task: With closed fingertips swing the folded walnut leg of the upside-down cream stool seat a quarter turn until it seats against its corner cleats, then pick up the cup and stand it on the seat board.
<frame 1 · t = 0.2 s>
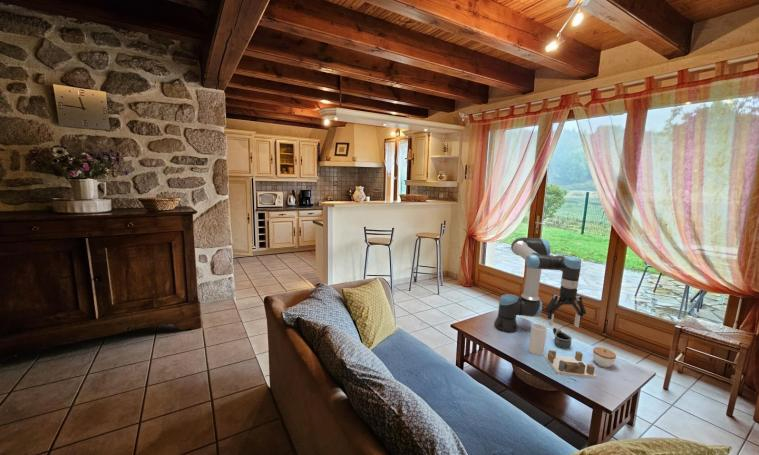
hand: (563, 325, 168), 27 cm above the table, fingers open, 13 cm apart
cup: (535, 351, 195), on the table
seat board: (569, 367, 179), on the table
mug: (559, 345, 203), on the table
folding leg: (574, 366, 172), point 4 cm above the table, hinge at 0.0°
lidded jar: (602, 364, 184), on the table
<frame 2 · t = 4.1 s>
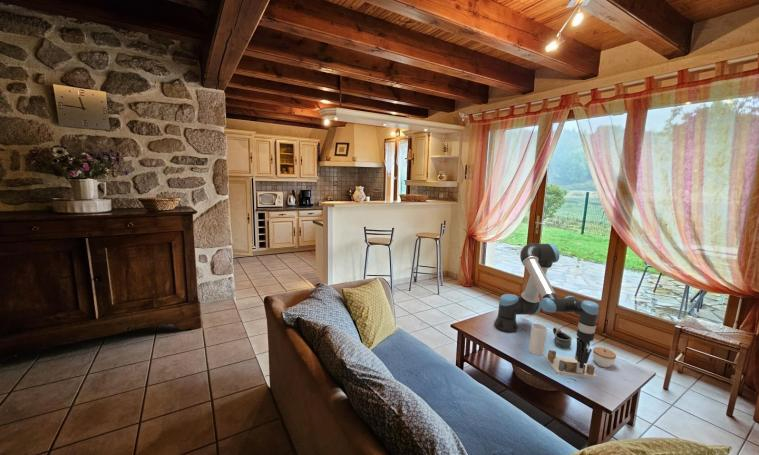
hand: (579, 372, 170), 3 cm above the table, fingers closed
folding leg: (574, 366, 172), point 4 cm above the table, hinge at 0.0°, touching gripper
everything else where it was.
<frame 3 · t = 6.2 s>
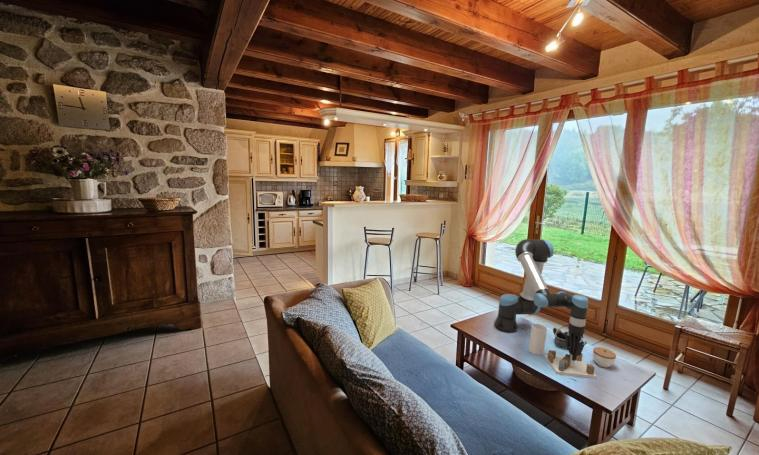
hand: (571, 364, 177), 3 cm above the table, fingers closed
folding leg: (566, 361, 177), point 4 cm above the table, hinge at 48.8°, touching gripper
everything else where it was.
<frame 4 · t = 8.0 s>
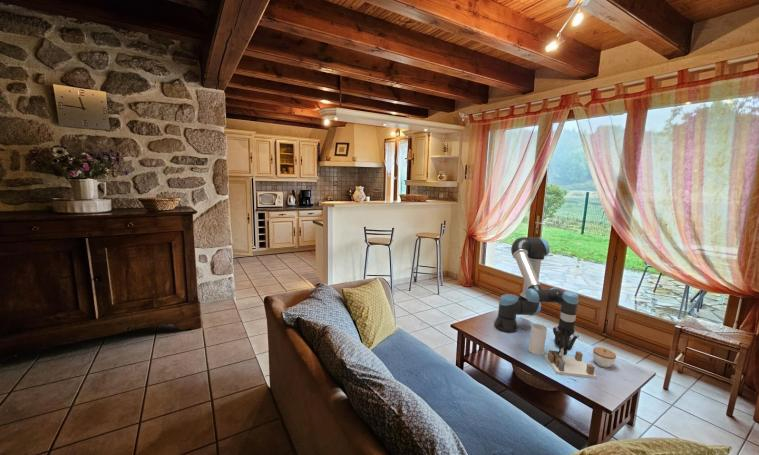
hand: (561, 359, 181), 3 cm above the table, fingers closed
folding leg: (557, 359, 179), point 4 cm above the table, hinge at 86.8°, touching gripper
everything else where it was.
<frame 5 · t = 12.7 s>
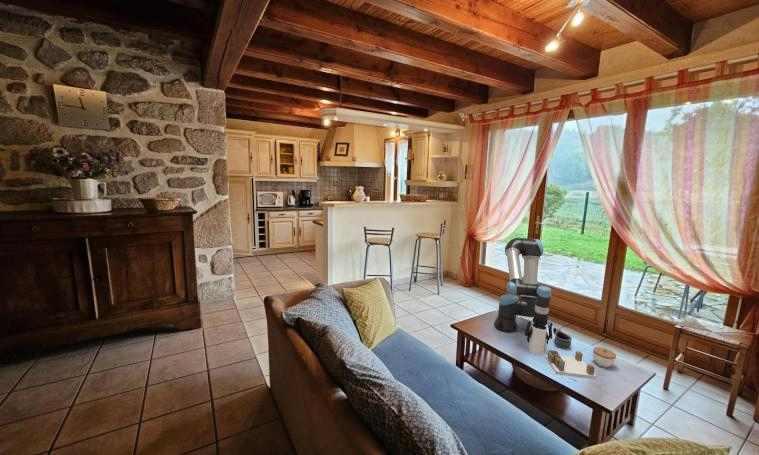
hand: (536, 347, 194), 2 cm above the table, fingers closed on cup, 8 cm apart
cup: (535, 351, 195), on the table, touching gripper
folding leg: (556, 358, 180), point 4 cm above the table, hinge at 90.5°
everything else where it was.
when the fingers open (5 cm above the table, at t = 19.1 s): cup drops 1 cm, resting on seat board.
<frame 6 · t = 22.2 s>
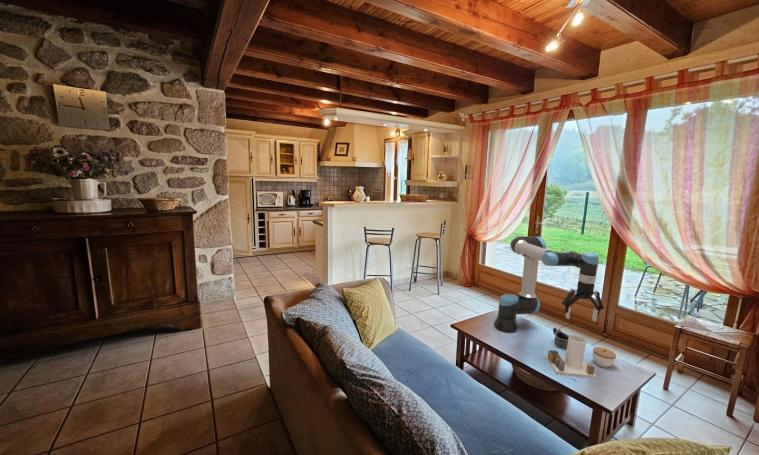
hand: (580, 319, 175), 29 cm above the table, fingers open, 13 cm apart
cup: (573, 365, 179), point 1 cm above the table, touching seat board
everything else where it was.
at the end: folding leg at +90° (first picture: +0°); cup inside the target area (0.1 cm from its centre), point 1.3 cm above the table; cup tilted 0° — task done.
